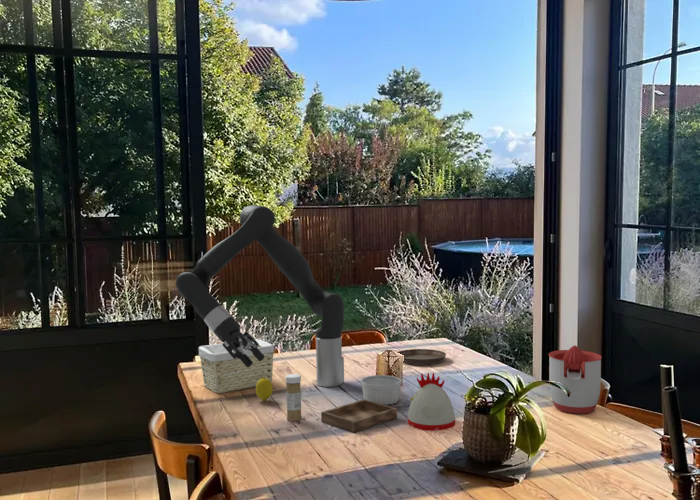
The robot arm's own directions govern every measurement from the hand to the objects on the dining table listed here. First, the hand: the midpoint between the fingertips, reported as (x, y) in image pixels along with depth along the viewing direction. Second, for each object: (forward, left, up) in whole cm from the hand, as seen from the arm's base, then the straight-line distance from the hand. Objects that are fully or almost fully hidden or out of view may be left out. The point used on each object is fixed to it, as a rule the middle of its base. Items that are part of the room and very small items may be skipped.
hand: (256, 362), depth 200 cm
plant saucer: (-90, -11, -17) cm, 92 cm away
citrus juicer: (-72, +67, -17) cm, 99 cm away
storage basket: (-16, -35, -17) cm, 42 cm away
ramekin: (-38, +16, -17) cm, 45 cm away
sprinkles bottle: (-6, +10, -17) cm, 21 cm away
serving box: (-19, +25, -17) cm, 36 cm away
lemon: (-11, -12, -17) cm, 23 cm away
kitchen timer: (-32, +42, -17) cm, 56 cm away
